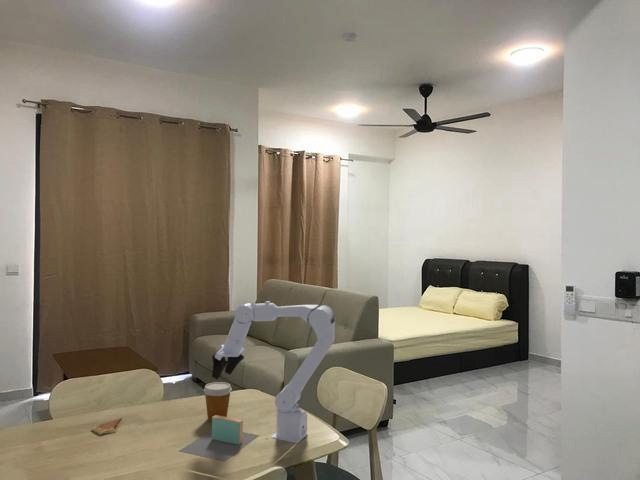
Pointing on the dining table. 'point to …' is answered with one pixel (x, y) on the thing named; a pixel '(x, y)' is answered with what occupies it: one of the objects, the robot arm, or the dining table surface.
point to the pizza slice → (107, 426)
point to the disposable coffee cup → (217, 399)
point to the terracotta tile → (227, 429)
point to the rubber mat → (216, 447)
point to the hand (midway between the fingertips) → (221, 375)
